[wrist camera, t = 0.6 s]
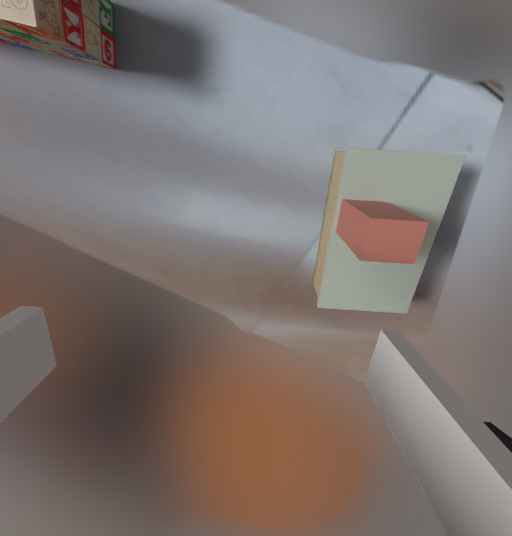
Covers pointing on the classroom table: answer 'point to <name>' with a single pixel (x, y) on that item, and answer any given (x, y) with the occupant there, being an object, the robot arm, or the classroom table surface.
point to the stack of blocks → (61, 28)
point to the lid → (384, 227)
